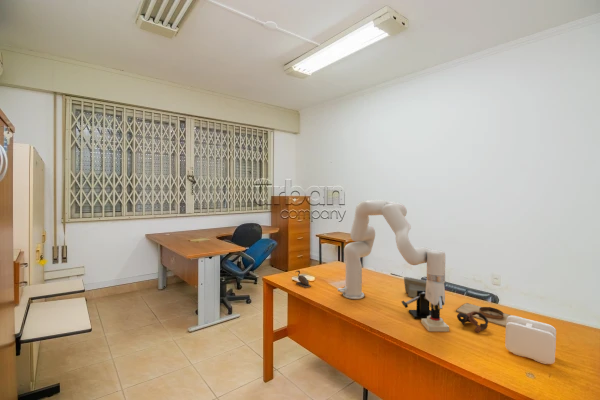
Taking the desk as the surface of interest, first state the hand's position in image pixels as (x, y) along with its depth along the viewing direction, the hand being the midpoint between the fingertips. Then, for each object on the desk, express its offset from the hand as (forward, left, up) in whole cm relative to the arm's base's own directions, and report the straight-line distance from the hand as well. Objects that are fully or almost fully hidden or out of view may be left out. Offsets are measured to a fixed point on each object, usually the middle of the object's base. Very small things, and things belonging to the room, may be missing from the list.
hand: (435, 317), depth 127 cm
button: (0, 0, -2) cm, 2 cm away
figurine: (-62, +57, -5) cm, 84 cm away
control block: (0, 0, -4) cm, 4 cm away
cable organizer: (+26, -20, -5) cm, 33 cm away
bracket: (-1, +12, -4) cm, 13 cm away
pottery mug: (+17, 0, -5) cm, 17 cm away
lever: (-4, +12, +2) cm, 13 cm away
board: (+32, +13, -5) cm, 35 cm away
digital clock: (+7, +38, -5) cm, 39 cm away
